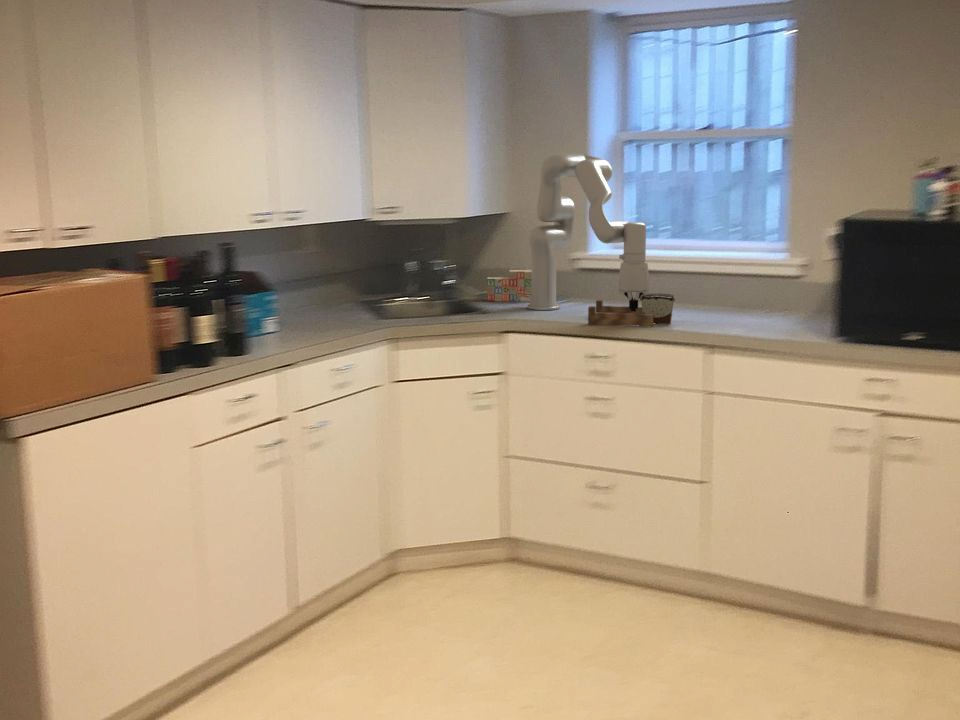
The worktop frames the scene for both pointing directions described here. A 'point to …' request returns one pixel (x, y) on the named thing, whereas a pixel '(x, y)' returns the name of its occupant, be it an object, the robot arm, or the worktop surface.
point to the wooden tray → (617, 315)
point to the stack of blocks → (509, 286)
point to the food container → (658, 306)
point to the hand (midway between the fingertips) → (633, 310)
